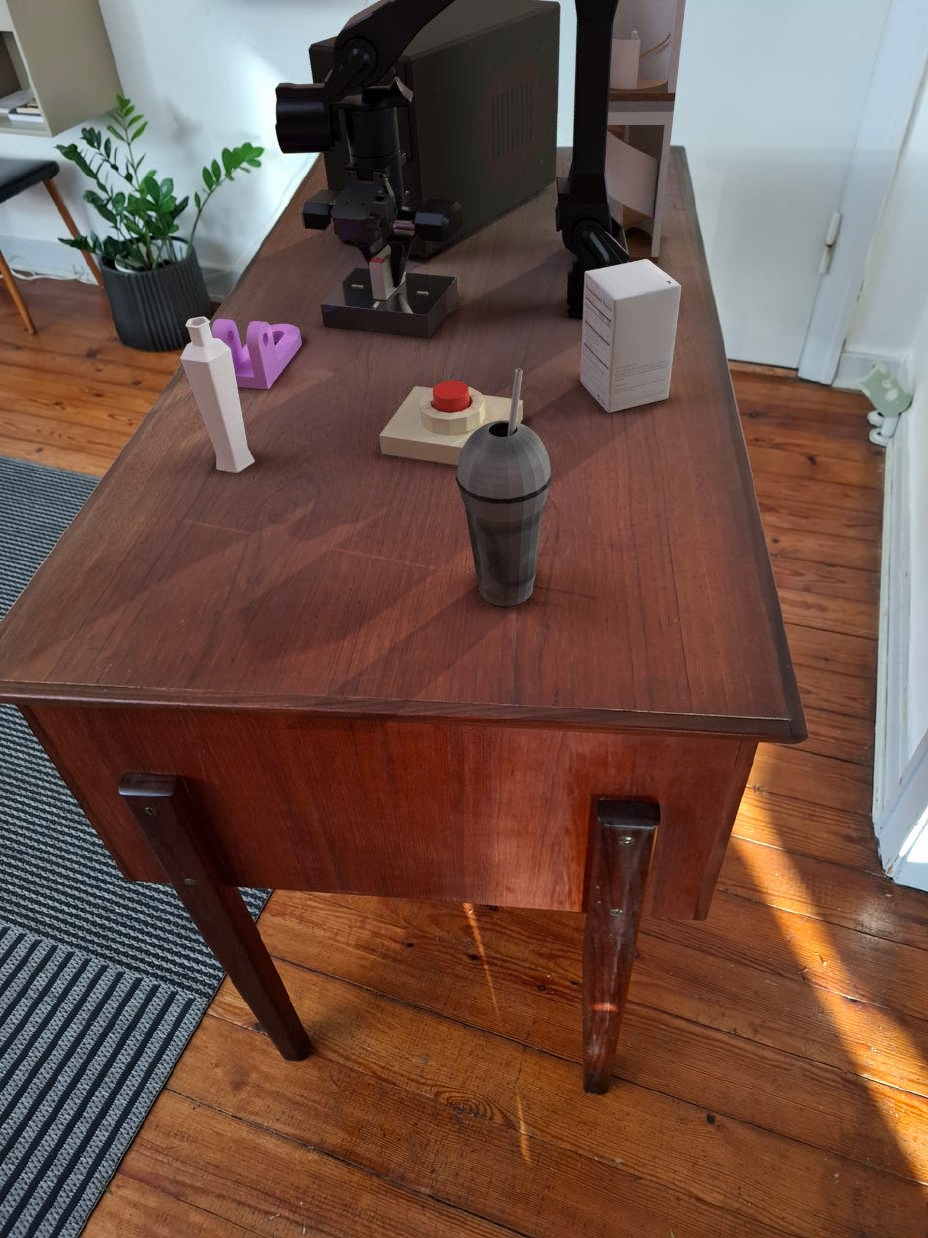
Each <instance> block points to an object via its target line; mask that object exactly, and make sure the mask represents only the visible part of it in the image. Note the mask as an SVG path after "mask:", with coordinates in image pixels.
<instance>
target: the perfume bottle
mask: <svg viewBox="0 0 928 1238" xmlns="http://www.w3.org/2000/svg"><path fill="white" fill-rule="evenodd" d="M210 322H211V321H210V319H208V318H207V317H206V316H198V317H192V318H188V319H187V321H186V323H185V327H186V328H187V330H188V334H189V337H190V342H189V343H187V344H186V346H185V348H184V349H183V351H182V354H181V356H180V358H179V359H180V361H181V364H182V366H183V370H184V372H185V374H186V377H187V380H188V383H189V385H190V388H191V391H192V394H193V396H194V398H195V401H196V404H197V406H198V409H199V412H200V415H201V417H202V420H203V423H204V425H205V428H206V430H207V433H208V436H209V439H210V441H211V444H212V447H213V450H214V452H215V456H216V458H215V463H216V464H215V465H216V467H215V469H216V470H217V471H223V472H229V473H236V474H237V473H240V472H241V471H243V470H244V469H246V468H248V467H249V466H251V465H252V464H254V463H255V461H256V460H255V458H254V456H253V455H252V453H251V451H250V449H249V447H248V441H247V435H246V430H245V424H244V418H243V413H242V407H241V401H240V395H239V389H238V388H239V387H237V383H236V377H235V371H234V365H233V359H232V353H231V349H230V348H229V347H228V346H227V345H226V344H225V343H224V342H223V341H221V340H220V339H218V338H212V334H211V331H212V330H211V328H210Z"/></svg>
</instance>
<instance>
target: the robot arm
mask: <svg viewBox="0 0 928 1238" xmlns="http://www.w3.org/2000/svg"><path fill="white" fill-rule="evenodd" d="M454 1H455V0H378V1H376V2H375V3H373V4H370V5H369V6H367V7H365V8H364V9H362V10H361V11H359V12H357V13H355V14H354V15H352V16H351V17H349V19H348V20H347V22H345V24H344V25H343V27H342V28H341V30H340V31H339V33H338V34H337V35H336V36H337V37H336V40H335V42H334V49H333V57H334V62H335V67H334V69H333V70H331V71H330V72H329V74H328V75H327V77H326V78H325V80H324V83H316V84H313V83H293V82H279V83H278V84H277V85H276V87H275V89H274V93H275V99H276V101H275V122H276V123H275V125H274V130H275V136H276V141H277V144H278V147H279V149H280V151H281V153H282V154H283V155H287V154H288V155H289V154H319V153H321V154H323V153H325V152H334V149H335V141H336V142H342V140H343V118H342V112H341V109H344V113H345V121H346V129H347V137H348V145H349V153H350V160H351V163H350V164H349V165H347V166H346V185H345V189H344V190H343V191H336V190H328V189H322V188H321V189H320V190H319V191H317V192H316V193H315V194H313V195H312V196H310V197H309V198H308V199H307V200H305V201H304V202H303V204H302V207H301V211H300V215H301V221H302V227H303V228H304V229H306V230H315V231H326V230H327V229H328V227H329V226H330V225H331V224H333V223H334V225H335V228H336V231H337V234H338V235H337V237H338V239H339V240H341V241H350V242H352V243H353V244H354V245H355V246H356V247H357V248H358V249H359V251H360V253H361V254H362V256H363V258H364V260H365V261H366V264H367V266H368V269H370V266H369V262H370V261H371V259H372V258H373V257H376V256H377V255H378V254H379V253H380V252H381V251H382V250H383V249H384V247H383V237H382V229H392V227H393V228H394V232H393V233H392V234H391V235H390V236H389V237H388V238H387V239H386V242H387V243H388V245H389V247H390V249H391V263H392V278H393V283H394V287H395V288H398V287H399V286H400V284H401V281H402V277H403V274H404V271H405V270H406V266H407V264H408V260H409V256H410V254H409V253H410V250H411V248H412V245H413V243H414V240H415V239H416V238H417V237H419V238H420V239H421V240H425V241H436V242H445V241H449V240H450V239H451V237H452V236H453V235H454V234H455V233H456V232H457V231H458V230H459V229H460V228H461V227H462V226H463V225H464V217H463V209H462V207H461V206H460V204H459V203H458V201H454V200H442V199H429V200H428V201H427V202H426V203H425V204H424V205H423V206H422V207H421V208H414V207H405V203H406V202H407V201H408V200H409V192H408V191H406V190H404V186H403V175H402V165H404V164H405V163H406V157H405V153H400V142H399V131H398V120H397V108H396V107H409V106H410V105H411V102H412V99H413V95H414V94H413V92H412V91H411V90H409V89H408V88H407V87H406V86H404V85H403V84H402V82H401V81H400V79H399V78H398V77H395V78H394V80H393V82H392V83H391V84H390V85H389V86H377V87H372V86H373V85H375V84H377V83H378V82H379V81H380V80H381V79H382V78H383V77H384V75H385V74H386V73H387V72H388V71H389V69H390V68H391V67H392V66H393V64H394V63H395V62H396V61H397V60H398V58H399V57H400V56H401V54H402V53H403V52H404V51H405V49H406V48H407V47H408V45H409V44H410V43H411V41H412V40H413V39H414V37H415V36H416V35H417V34H418V33H419V31H420V30H421V29H422V28H423V27H424V26H425V25H427V24H428V23H429V22H430V21H431V20H432V19H434V18H435V17H436V16H437V15H438V14H440V13H441V12H442V11H443V10H444V9H445V8H447V7H448V6H449V5H450V4H451V3H453V2H454ZM618 3H619V0H574V8H575V14H576V15H575V16H576V25H575V26H576V27H575V28H576V29H575V58H574V59H575V61H574V62H575V63H574V87H573V88H574V89H573V90H574V91H573V120H572V121H573V122H572V123H573V124H572V126H573V127H572V155H571V163H570V167H569V171H568V175H567V177H566V176H565V177H564V176H557V175H556V180H555V182H556V197H557V204H556V206H555V208H554V211H555V212H554V216H555V232H557V233H559V232H561V238H562V242H563V243H562V244H563V245H564V247H565V248H566V249H567V250H568V251H569V252H570V253H571V254H573V255H575V256H574V258H573V260H572V266H571V267H570V269H569V270H568V272H567V283H566V284H567V285H566V305H567V306H569V307H568V309H567V312H566V315H567V316H568V317H572V318H582V319H583V302H584V276H585V271H590V270H595V269H601V268H606V267H610V266H615V265H620V264H625V263H628V262H629V254H628V248H627V243H626V238H625V233H624V228H623V227H622V226H621V225H620V224H619V223H618V222H617V221H616V220H615V219H614V218H613V216H612V215H611V214H610V205H609V196H608V188H607V180H606V171H605V161H606V143H607V126H608V108H609V90H610V72H611V54H612V36H613V23H614V18H615V14H616V10H617V6H618ZM356 87H362V88H363V90H362V95H356V96H347V95H348V94H349V93H350V92H352V91H353V90H354V89H355V88H356ZM334 225H333V226H334ZM405 272H406V271H405Z"/></svg>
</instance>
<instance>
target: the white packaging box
mask: <svg viewBox="0 0 928 1238" xmlns="http://www.w3.org/2000/svg"><path fill="white" fill-rule="evenodd" d="M681 292H682V285H681V284H680V283H679V282H678V281H676V280H675V279H674V278H673V277H671V276H670V275H669V274H667V273H666V272H665V271H664V270H662V269H661V268H660V267H659V266H656V265H654V264H653V263H652V262H651V261H649V260H648V259H644V260H639V261H635V262H630V263H625V264H620V265H615V266H610V267H606V268H601V269H595V270H590V271H585V276H584V302H583V318H582V327H581V328H582V330H581V331H582V332H581V352H580V375H579V376H580V379H579V380H580V381H579V382H580V383H581V384H582V386H583V387H584V388H585V390H586V391H588V393H590V395H591V396H592V397H593V398H594V399H595V400H596V401H597V402H598V403H599V405H600V406H601V407H602V408H603V409H604V410H605V411H606V413H608V414H611V413H615V412H618V411H622V410H627V409H631V408H635V407H638V406H639V407H640V406H642V405H643V406H644V405H647V404H651V403H655V402H660V401H663V400H664V401H665V400H667V399H669V395H670V386H671V378H672V370H673V361H674V353H675V343H676V334H677V328H678V327H677V325H678V319H679V310H680V300H681V294H682V293H681Z"/></svg>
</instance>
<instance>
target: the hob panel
mask: <svg viewBox="0 0 928 1238" xmlns="http://www.w3.org/2000/svg"><path fill="white" fill-rule="evenodd" d="M458 290H459V289H458V277H457V276H450V275H438V274H429V273H417V272H406V271H405V281H404V282H403V283H402V284H401V286H400V287H399V288H398V289H397V290H396V291H395V292H394V293H393V294H392V295H391V296H390V297H389V298H388V299H387V300H379V299H373V291H372V283H371V275H370V268H365V267H355V268H354V269H353V270H352V271H351V272H350V273H349V274H348V275H346V277H345V278H344V279H343V280H342V281H341V282H340V283H339V284H338V285H337V286H336V287H335V288H334V289H333V290H332V291H331V292H330V293H329V294H328V295H327V296H326V297H325V299H323V300H322V302H320V310H321V316H322V322H323V326H324V327H325V328H326V327H327V328H335V329H342V330H349V331H360V332H368V333H378V334H386V335H387V334H388V335H395V336H403V337H412V338H420V339H430V337H431V336H432V335H433V334H434V332H435V331H436V330H437V328H438V327H439V326H440V325H441V323H442V321H443V320H444V319H445V318H446V317H447V315H448V314H449V312H451V310H452V309H453V308H454V306H455V304H456V303H457V302H458V300H459V291H458Z"/></svg>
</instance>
